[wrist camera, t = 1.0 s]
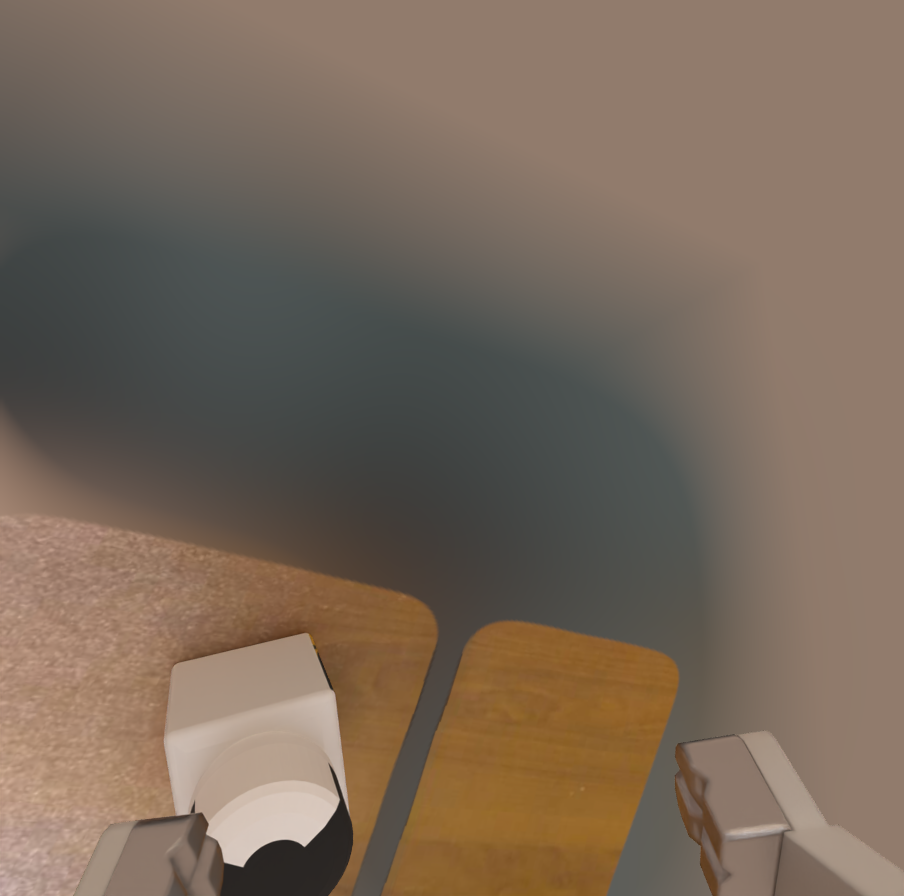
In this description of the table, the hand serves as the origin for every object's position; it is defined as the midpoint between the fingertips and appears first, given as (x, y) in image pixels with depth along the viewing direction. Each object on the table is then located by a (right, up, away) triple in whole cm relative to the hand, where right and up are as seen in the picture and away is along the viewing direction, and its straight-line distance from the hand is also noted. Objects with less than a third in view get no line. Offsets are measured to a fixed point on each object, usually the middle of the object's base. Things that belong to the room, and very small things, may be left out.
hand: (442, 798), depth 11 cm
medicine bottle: (-11, -8, +23) cm, 27 cm away
